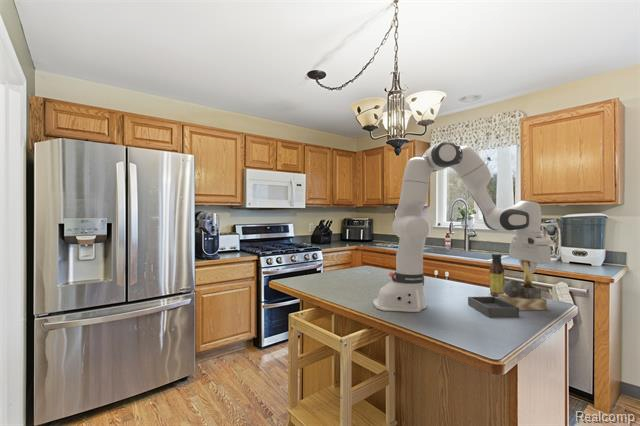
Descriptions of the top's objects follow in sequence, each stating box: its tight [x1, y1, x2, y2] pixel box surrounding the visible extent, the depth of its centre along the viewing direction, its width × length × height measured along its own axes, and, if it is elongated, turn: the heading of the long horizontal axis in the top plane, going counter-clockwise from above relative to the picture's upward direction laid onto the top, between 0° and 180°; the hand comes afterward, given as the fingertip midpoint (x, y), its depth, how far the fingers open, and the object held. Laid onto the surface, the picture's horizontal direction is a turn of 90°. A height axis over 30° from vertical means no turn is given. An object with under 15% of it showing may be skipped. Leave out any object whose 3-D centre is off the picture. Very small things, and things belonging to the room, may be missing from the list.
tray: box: [467, 295, 520, 318], centre depth 127 cm, size 16×12×4 cm
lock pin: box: [523, 260, 533, 288], centre depth 132 cm, size 3×3×12 cm
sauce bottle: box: [489, 252, 506, 297], centre depth 149 cm, size 6×6×20 cm
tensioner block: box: [497, 279, 548, 311], centre depth 132 cm, size 14×10×11 cm
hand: (527, 271), depth 132 cm, fingers closed on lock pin, 3 cm apart
